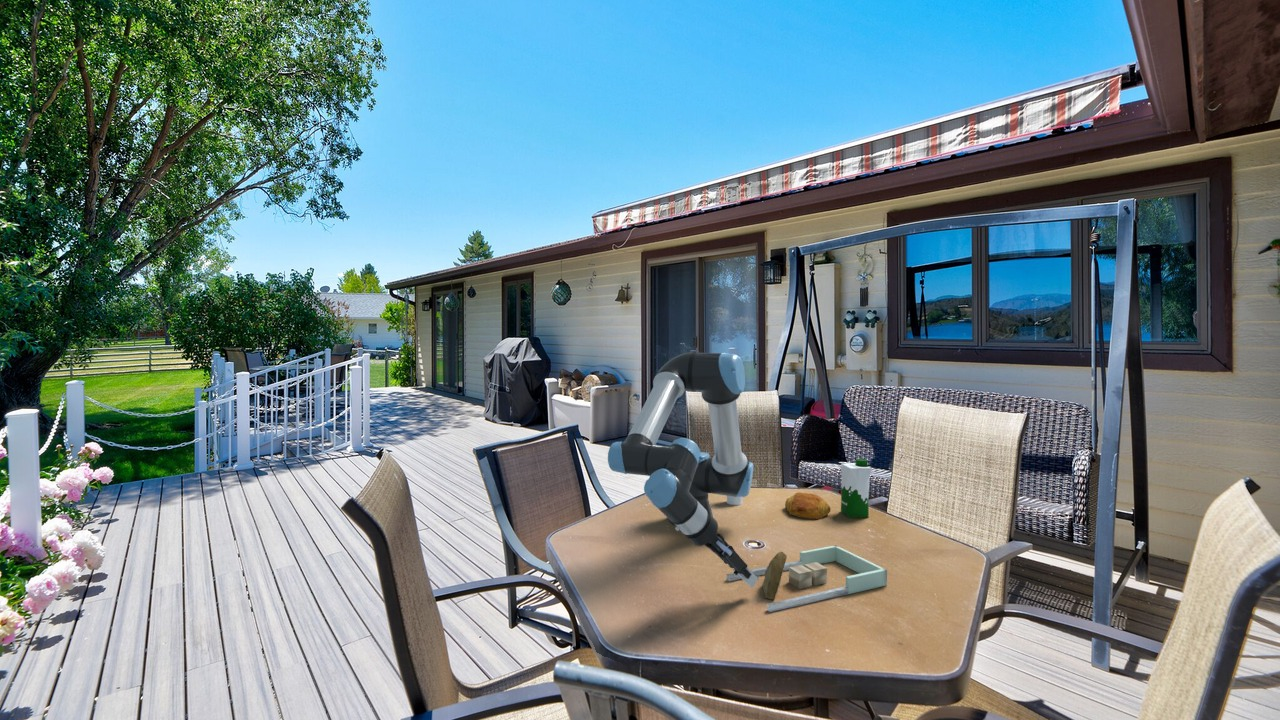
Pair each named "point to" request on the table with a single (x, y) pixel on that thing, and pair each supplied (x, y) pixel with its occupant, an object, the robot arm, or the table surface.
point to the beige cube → (817, 573)
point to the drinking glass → (734, 500)
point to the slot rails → (797, 600)
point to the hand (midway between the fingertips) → (753, 582)
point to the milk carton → (855, 489)
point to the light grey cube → (800, 576)
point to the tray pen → (868, 571)
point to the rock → (774, 575)
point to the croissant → (807, 506)
